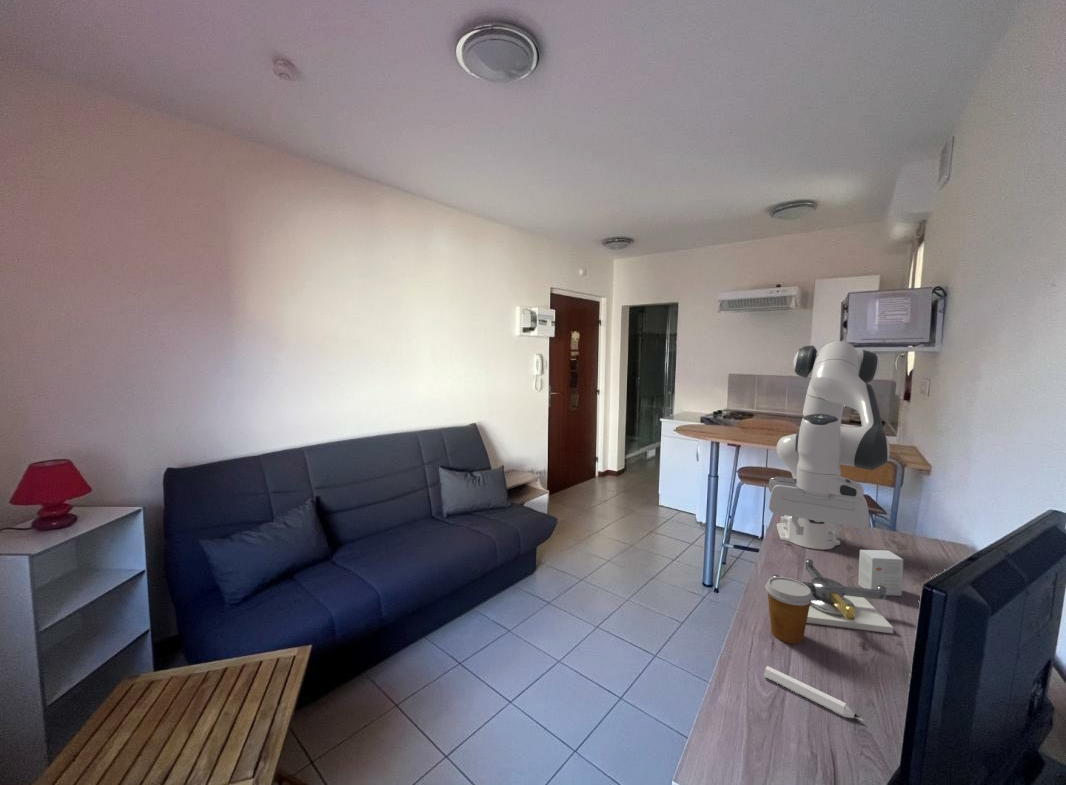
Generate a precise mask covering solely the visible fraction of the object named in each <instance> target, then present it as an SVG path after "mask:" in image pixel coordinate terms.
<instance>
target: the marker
mask: <svg viewBox="0 0 1066 785" xmlns="http://www.w3.org/2000/svg"><path fill="white" fill-rule="evenodd" d="M763 677H764V678H765V679H766V678H768V679H770V680H772V681H774V682H776V683H777V685H778V684H780V685H782V686H783V687H782V686H781V687H782V688H784V687H786V688H788V689H790V690H791V691H790V690H789V691H790V692H792V691H793V693H794V692H795V693H794V694H796V693H797V694H796V695H798V694H800V695H802V696H804V697H806V698H808V699H810V700H812V701H814V702H816V703H818V704H820V705H822V706H824V707H826V708H828V709H830V710H832V711H833V712H832V711H831V712H832V713H834V712H835V714H836V713H837V715H838V714H839V716H840V715H841V716H840V717H843V718H847V719H848V718H849V719H854V720H859V721H863V722H864V721H865V720H864V719H863V718H861V717H860V716H859V715H858V714H857V713H855V712H854V711H853V710H852V709H851V707H849V705H847V703H846V702H844V701H842V700H840V699H838V698H835V697H834V696H831V695H830V694H827V693H826V692H823V691H821V690H820V689H817V688H815V687H812V686H810V685H808V684H806V683H804V682H802V681H800V680H798V679H795V678H794V677H792V676H790V675H787V674H786V673H783V672H781V671H779V670H777V669H775V668H773V667H771V666H768V665H766V667H765V669H764V674H763ZM768 679H767V680H768ZM770 680H769V681H770ZM772 681H771V682H772ZM774 682H773V683H774ZM776 683H775V684H776ZM780 685H779V686H780ZM786 688H785V689H786ZM788 689H787V690H788ZM800 695H799V696H800ZM802 696H801V697H802ZM804 697H803V698H804ZM806 698H805V699H806ZM808 699H807V700H808ZM810 700H809V701H810ZM812 701H811V702H812ZM814 702H813V703H814ZM816 703H815V704H816ZM818 704H817V705H818ZM820 705H819V706H820ZM822 706H821V707H822ZM824 707H823V708H824ZM826 708H825V709H826ZM828 709H827V710H828ZM830 710H829V711H830Z"/></svg>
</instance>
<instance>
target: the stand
mask: <svg viewBox="0 0 1066 785" xmlns="http://www.w3.org/2000/svg"><path fill="white" fill-rule="evenodd" d="M844 597H845V598H847V599H848V600H850V601H851V602H852V603H853V604H854V606H855V620H850V619H846V618H845V616H839V615H833V614H829V613H826V612H823V611H821V610H819V609H817V608H815V607H813V606H812V605H811V604H810V607H809V612H808V617H807V622H806V624H813V625H821V626H830V627H837V628H847V629H854V630H855V629H856V630H862V631H869V632H871V631H872V632H877V633H883V634H885V633H886V634H894V626H892V625H891V623H890V622H889V621H888V620H887V619H886V618H885V617H884V616H883V615H882V614H881V613H880V612H879V611H878V610H877V609H876V607H874V606H873V605H872V604H871V603H870V602H869V601H868V599H867V598H863V597H853V596H844Z"/></svg>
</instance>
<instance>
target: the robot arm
mask: <svg viewBox="0 0 1066 785" xmlns="http://www.w3.org/2000/svg"><path fill="white" fill-rule="evenodd" d="M792 360H793V361H792V366H793V369H794V373H795V374H796V375H797V376H799V377H801V378H805V379H807V378H809V379H810V380H809V384H808V386H807V391H806V394H805V400H804V403H803V404H804V405H803V410H802V415H803V416H802V419H801V422H800V427H799V430H798V431H797V432H796V433H794V434H793V433H792V434H789V435H785V436H782V437H781V438H780V439H779V440H778V442H777V444H776V454H777V456H778V457H779V459H780V460H781V461H782V462H783V463H784V464H785V465H786V466H787V467H788V469H789V471H790V472H791V475H792V477H782V476H775V477H772V478H771V479H769V481H768V490H769V492H770V496H769V502H768V509H769V511H770V512H771V513H772V514H776V515H780V518H779V519H780V520H779V521H780V522H778V523H776V528H777V531H778V532H777V533H778V535H779V538H780V539H781V540H782V541H785V542H790V543H792V544H794V545H797V546H800V547H804V548H807V549H808V548H809V549H813V550H832V549H834V548H835V546H839V545H841V541H840V540H839V539H838V538H837V535H838V534H839V533H840V532H841V531H842V530H843V529H842V528H843V526H844V527H851V528H856V529H862V530H866V529H868V527H870V514H869V507H868V506H869V505H868V502H867V499H866V498H865V496H864V493H865V490H864V486H863V485H862V484H861V483H860V482H857V481H854V480H852V479H849V478H847V477H844V476H841V474H842V470H841V465H842V466H847V467H855V468H859V469H864V470H868V471H873V470H876V469H878V468H880V467H882V466H883V467H884V465H886V464H887V463H888V460H889V458H890V455H891V454H890V453H891V447H890V446H891V445H890V441H889V440H888V437H887V435H886V432H885V429H884V426H883V421H882V417H881V413H880V408H879V404H878V400H877V396H876V393H875V390H874V388H873V387H872V385H871V384H869V383H870V382H872V381H873V380H874V378H875V377H876V376H877V374H878V372H879V370H880V362H879V357H878V355H877V354H876V352H873V351H869V350H865V349H862V350H860V349H856V347H855V346H854V345H852V344H851V343H849V342H847V341H842V340H841V341H839V340H838V341H837V340H835V341H832V342H829V343H827V344H825V345H823V346H814V345H804V346H802V347H801V348H799V349H798V351H797V352H796V353H795V355H794V357H793V359H792ZM845 407H848V408H851V409H853V410H855V411H857V413H858V414H859V416H860V417H859V418H860V422H861V426H857V427H855V426H853V427H852V426H842V416H843V413H844V412H843V411H844V408H845ZM782 515H783V516H782Z"/></svg>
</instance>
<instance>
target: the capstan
mask: <svg viewBox="0 0 1066 785" xmlns="http://www.w3.org/2000/svg"><path fill="white" fill-rule="evenodd" d="M805 570H806V572H807V573H808V574H809V576H810V577H811V578H812V579H811V582H809V581H807V582H806V581H800V580H798V581H799V582H802V583H803V584H805V585H806V586H808V587H809V588H810V590H811V594H812V595H813V600H812V601H811V603H810V604H811V605H812V606H813V607H815V608H817V609H819V610H821V611H823V612H826V613H829V614H833V615H839V616H845V618H846V619H850V620H855V606H854V604H853V603H852V602H851V601H850V600H848V599H847V598H845V597H844V596H853V597H863V598H865V599H872V600H883V599H886V598H887V595H886V587H884V586H881V585H878V586H877V590H876V589H866V588H862V587H856V586H847V585H845V586H844V585H843V584H842V583H840V582H838V581H836V580H834V579H831V578H827V577H823V575H822V574H821V573H820V572H819V571H818V570H817V569H816V567H814V561H813V560H812V559H809V558H807V559H805ZM772 577H781V576H780V575H778V574H772Z"/></svg>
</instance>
